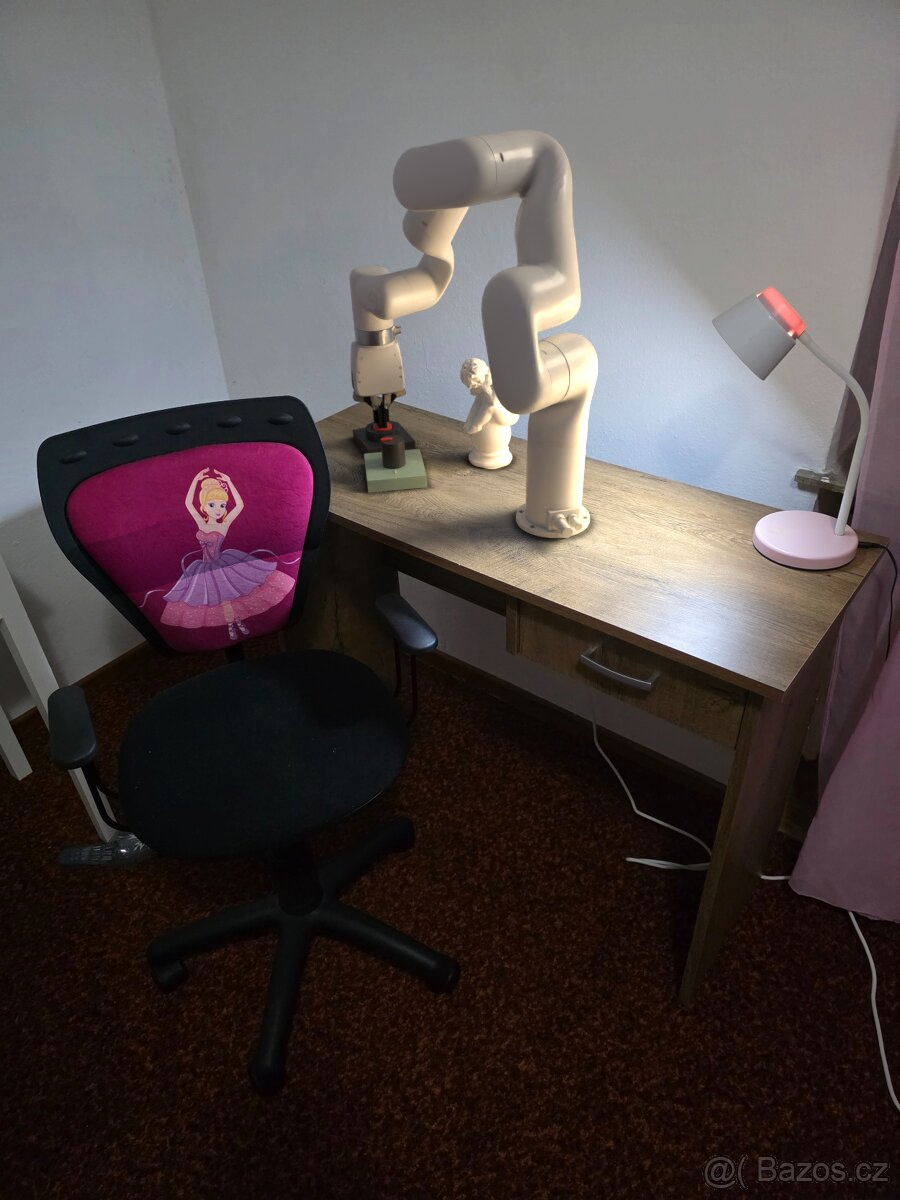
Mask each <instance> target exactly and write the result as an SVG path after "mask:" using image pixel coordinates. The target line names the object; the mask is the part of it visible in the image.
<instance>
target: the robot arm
mask: <svg viewBox="0 0 900 1200" xmlns="http://www.w3.org/2000/svg"><path fill="white" fill-rule="evenodd" d="M392 189H393V191H394V195H395V197H396V199H397V202H399V204H400V205H401V206H402V207H403V208H405V210H406V212H405V215H404V217H403V220H402V231H403V234H404V236H405V238H406V240H407V241H408V242H409V244H410V245H411V246H412V247H414V248H415V249H416V250H418V251H419V252H421V253H423V255H422V257H421V259H420V260H419V263H418V264H417V265H416V266H414V267H409V268H405V269H401V270H396V271H393V272H389V269H388V268H387V267H385V266H382V265H378V264H365V265H359V266H357V267H354V268H353V269H352V270H351V271H350V273H349V288H350V289H349V290H350V299H351V310H352V321H353V329H354V341H352V342H351V344H350V380H351V387H352V390H353V391H352V399H353V401H354V402H356V403H357V402H358V403H365V404H366V405H368V406H369V407H370V408H372V416H373V422H374V423H377V425H378V427H379V429H380V428H382V427H384V428H387V422H389V420H390V410H389V409H390V407H391V406H392V404H393V403H394V401H395V400H396V399H397V398H400V397H403V396H406V394H407V391H406V387H405V385H406V383H405V382H406V381H405V372H404V365H403V359H402V358H403V357H402V352H401V349H400V344H399V340H398V339H397V338H396V337H397V335H401V334H402V327H401V325H400V326H398V325H395V324H394V320H395V319H398V318H403V317H405V316H408V315H411V314H414V313H418V312H422V311H426V310H428V309H431V308H432V307H434V306H435V305H436V304H437V303H438V302H439V301H440V299H441V298H442V297H443V295H444V293H445V292H446V289H447V288H448V286H449V284H450V282H451V280H452V278H453V275H454V270H455V253H454V249H453V245H452V241H453V239H454V237H455V236H456V233H457V231H458V230H459V227H460V225H461V223H462V221H463V219H464V218H465V216H466V214H467V212H468V210H469V208H470V207H476V206H480V205H485V204H490V203H495V202H500V201H505V200H508V199H513V198H518V199H521V202H520V205H519V207H518V210H517V214H516V217H515V223H514V242H515V248H516V249H515V250H516V262H517V264H516V266H513V267H509V268H506V269H503V270H501V271H499V272H497V273H496V274H494V275H493V276H492V277H491V278H490V279H489V281H488V282H487V284H486V285H485V287H484V291H483V294H482V296H481V297H482V299H481V305H480V306H481V307H480V311H481V321H482V322H481V323H482V329H483V335H484V341H485V348H486V353H487V355H486V356H487V361H488V367H489V368H490V374H491V379H492V384H493V388H494V391H495V394H496V396H497V399H498V400H499V402H500V404H501V405H502V406H503V407H504V408H505V409H506V410H507V411H509V412H510V413H512V414H516V415H519V416H526V415H528V420H527V429H526V430H527V433H526V461H525V462H526V467H525V468H526V469H525V502H524V503H523V504H522V505H520V506H519V508H518V509H517V510H516V513H515V522H516V524H517V526H518V527H519V528H520V529H521V530H523V531H524V532H526V533H528V534H530V535H533V536H535V537H540V538H547V539H563V538H564V539H569V538H571V537H574V536H576V535H578V534H580V533H582V532H584V531H585V530H586V529H587V528H588V527H589V525H590V520H591V518H590V517H591V515H590V512H589V511H588V509H587V508H586V507H584V506H583V505H582V502H583V491H584V490H583V489H584V476H585V460H586V448H587V437H588V424H589V415H590V408H591V403H592V398H593V394H594V391H595V387H596V383H597V379H598V374H599V373H598V371H599V361H598V355H597V352H596V350H595V347H594V346H593V344H592V343H591V341H589V340H588V338H586V337H585V336H583V335H581V334H579V333H575V332H561V333H557V334H553V335H551V336H550V335H549V336H547V337H545V338H542V339H539V336H538V335H539V333H541V332H543V331H546V330H549V329H552V328H555V327H558V326H560V325H563V324H565V323H567V322H570V320H572V319H573V318H574V317H575V316H576V315H577V314H578V312H579V310H580V307H581V300H582V293H581V281H580V271H579V262H578V261H579V259H578V251H577V241H576V234H575V226H574V214H573V213H574V212H573V175H572V168H571V164H570V161H569V157H568V155H567V153H566V151H565V150H564V148H563V146H562V145H561V144H560V143H559V142H558V141H557V140H556V138H554V137H553V136H552V135H550V134H548V133H546V132H544V131H540V130H535V129H511V130H504V131H497V132H491V133H485V134H478V135H476V134H475V135H470V136H469V135H468V136H462V137H458V138H453V139H449V140H445V141H440V142H435V143H430V144H426V145H425V144H424V145H416V146H413V147H409V148H408V149H407V150H405V151H404V152H403V153H402V154H401V155H400V157H399V158H398V160H397V161H396V164H395V166H394V169H393V174H392ZM377 396H381V402H380V404H379V402H378V399H377Z"/></svg>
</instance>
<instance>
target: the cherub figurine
mask: <svg viewBox="0 0 900 1200" xmlns="http://www.w3.org/2000/svg"><path fill="white" fill-rule="evenodd" d="M459 372H460V374H459V377H460V381H461V383H462V384H463V385H464V386H466V387H467V388H468V389H470V395H471V396H473V397H475V398H474V401H473V402H472V404H471V407H470V409H469V411H468V415H467V417H466V419H465V422H464V424H463V426H462V430H463V431H465V433H466V434H468V435H470V439H471V443H472V448H471V449H472V450H471V451H470V452H469V454H468V460H469V462H470V464H471V465H472V466H474V467H477V468H483V469H487V470H496V469H499V468H503V467H505V466H508V465H510V463H511V462H512V460H513V454H512V452H510V450H509V448H510V447H509V443H510V441H511V437H512V430H511V426H513V425H515V424H516V423H517V422H518V420H519V418H520V415H516V414H512V413H510V412H509V411H507V410H506V409H505V408H504V407H503V406H502V405H501V404H500V402H499V400H498V399H497V396H496V394H495V391H494V388H493V384H492V379H491V374H490V368H489V365H488V366H487V364H486V362H485V361H484V359H480V358H478V357H477V356H476V357H471V358H468V359H466V360H464V362H463V363H462V365H461V368H460V371H459Z"/></svg>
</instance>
